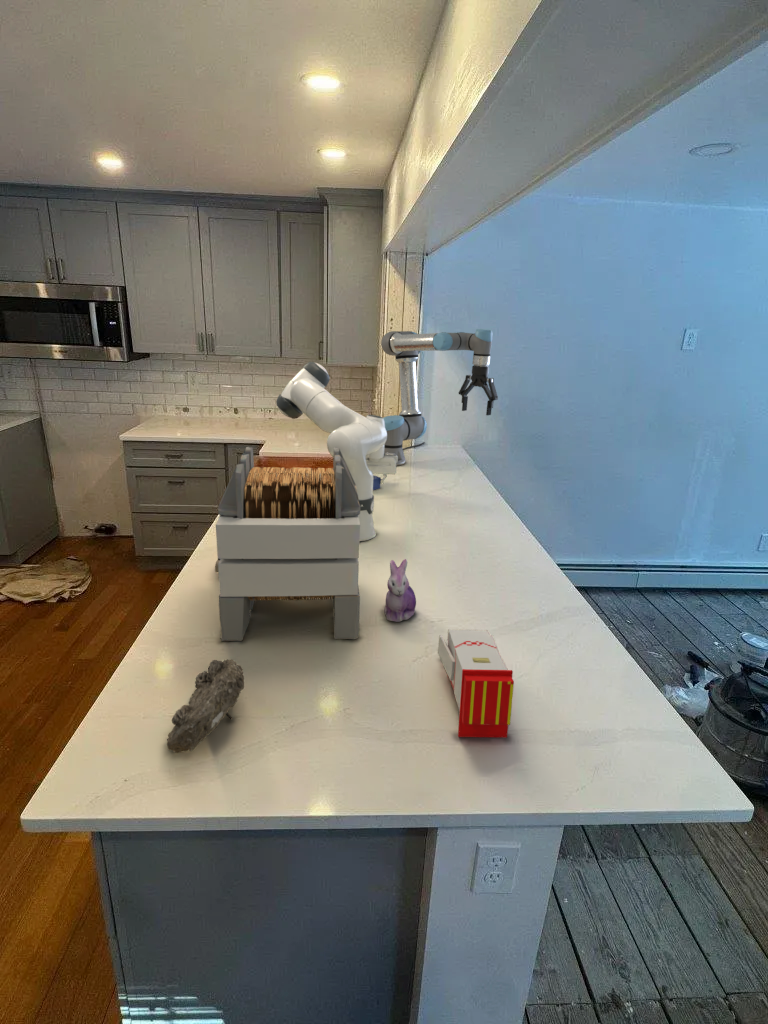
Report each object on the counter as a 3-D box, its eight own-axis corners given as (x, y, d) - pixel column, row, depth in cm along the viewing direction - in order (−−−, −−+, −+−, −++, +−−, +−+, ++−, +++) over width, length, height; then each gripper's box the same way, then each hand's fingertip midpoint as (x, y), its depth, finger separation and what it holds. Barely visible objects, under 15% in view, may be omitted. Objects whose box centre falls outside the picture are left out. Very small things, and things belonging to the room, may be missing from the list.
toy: (488, 613, 130) (523, 677, 101) (484, 667, 133) (517, 744, 104) (435, 612, 130) (455, 676, 101) (432, 666, 133) (451, 743, 103)
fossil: (192, 660, 117) (244, 628, 112) (224, 691, 120) (276, 661, 115) (142, 746, 98) (202, 712, 93) (182, 779, 101) (242, 748, 96)
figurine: (392, 627, 141) (395, 572, 136) (374, 608, 149) (376, 556, 144) (425, 619, 145) (429, 566, 140) (405, 601, 154) (408, 550, 149)
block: (372, 490, 246) (373, 479, 245) (365, 487, 249) (365, 477, 248) (380, 488, 249) (380, 477, 248) (372, 485, 252) (373, 475, 251)
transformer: (238, 577, 163) (231, 438, 149) (351, 576, 167) (355, 440, 153) (218, 643, 131) (207, 474, 117) (359, 640, 135) (365, 475, 121)
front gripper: (397, 451, 247) (396, 482, 252) (351, 449, 247) (350, 480, 251) (398, 455, 241) (396, 486, 246) (350, 453, 241) (349, 484, 245)
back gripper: (509, 368, 249) (503, 416, 256) (463, 362, 265) (459, 408, 272) (499, 368, 244) (494, 417, 251) (453, 363, 260) (449, 409, 267)
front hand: (372, 483), depth 249 cm, fingers closed on block, 6 cm apart
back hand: (476, 412), depth 261 cm, fingers open, 13 cm apart
